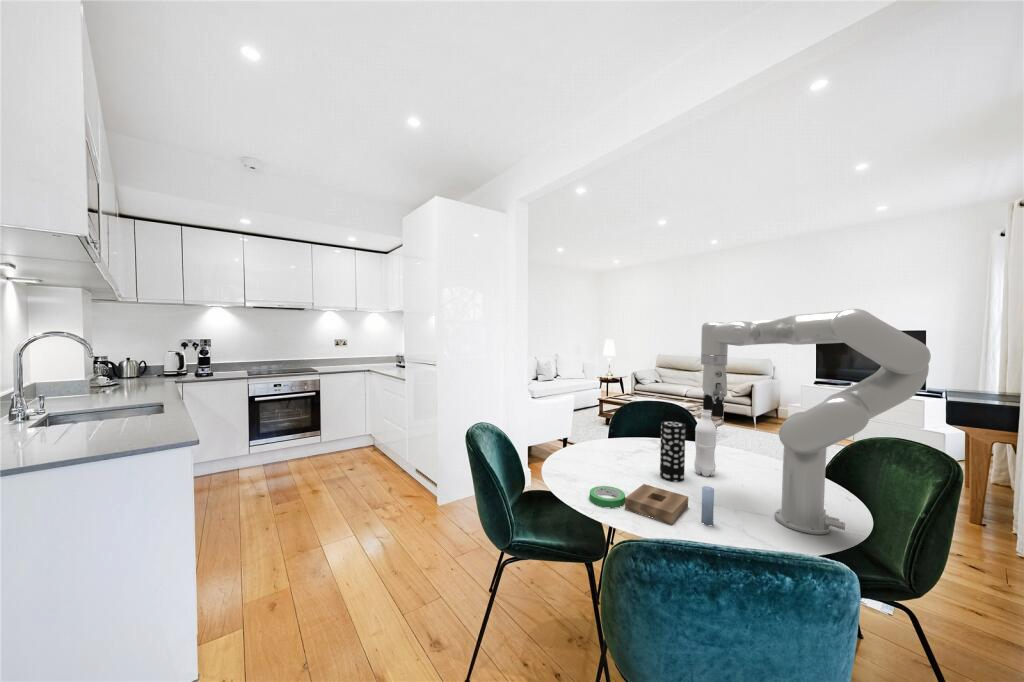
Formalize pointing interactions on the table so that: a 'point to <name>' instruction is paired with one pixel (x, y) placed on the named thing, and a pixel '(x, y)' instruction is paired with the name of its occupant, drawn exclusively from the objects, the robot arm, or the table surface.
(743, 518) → the table surface
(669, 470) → the white-spotted black cylinder
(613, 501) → the tape roll
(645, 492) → the block
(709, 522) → the peg
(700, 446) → the water bottle
